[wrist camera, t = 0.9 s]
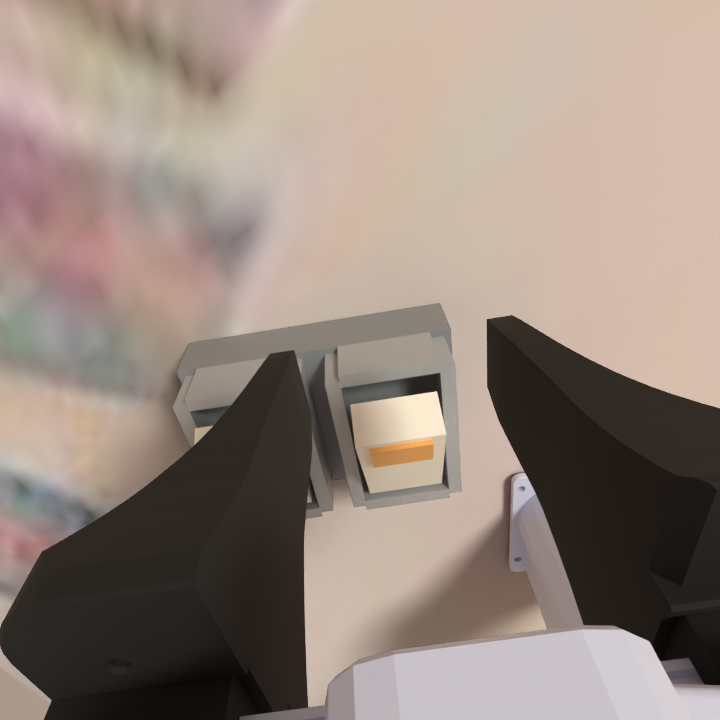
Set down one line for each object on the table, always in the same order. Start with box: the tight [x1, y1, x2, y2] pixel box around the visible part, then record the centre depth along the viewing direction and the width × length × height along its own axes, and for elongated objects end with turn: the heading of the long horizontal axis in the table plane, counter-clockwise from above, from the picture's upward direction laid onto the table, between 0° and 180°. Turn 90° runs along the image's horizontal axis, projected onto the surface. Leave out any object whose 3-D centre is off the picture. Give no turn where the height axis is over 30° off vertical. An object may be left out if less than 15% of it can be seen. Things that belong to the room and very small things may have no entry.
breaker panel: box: [173, 303, 462, 519], centre depth 24 cm, size 8×12×5 cm, turn 99°
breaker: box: [350, 391, 446, 494], centre depth 21 cm, size 6×3×2 cm, turn 9°
